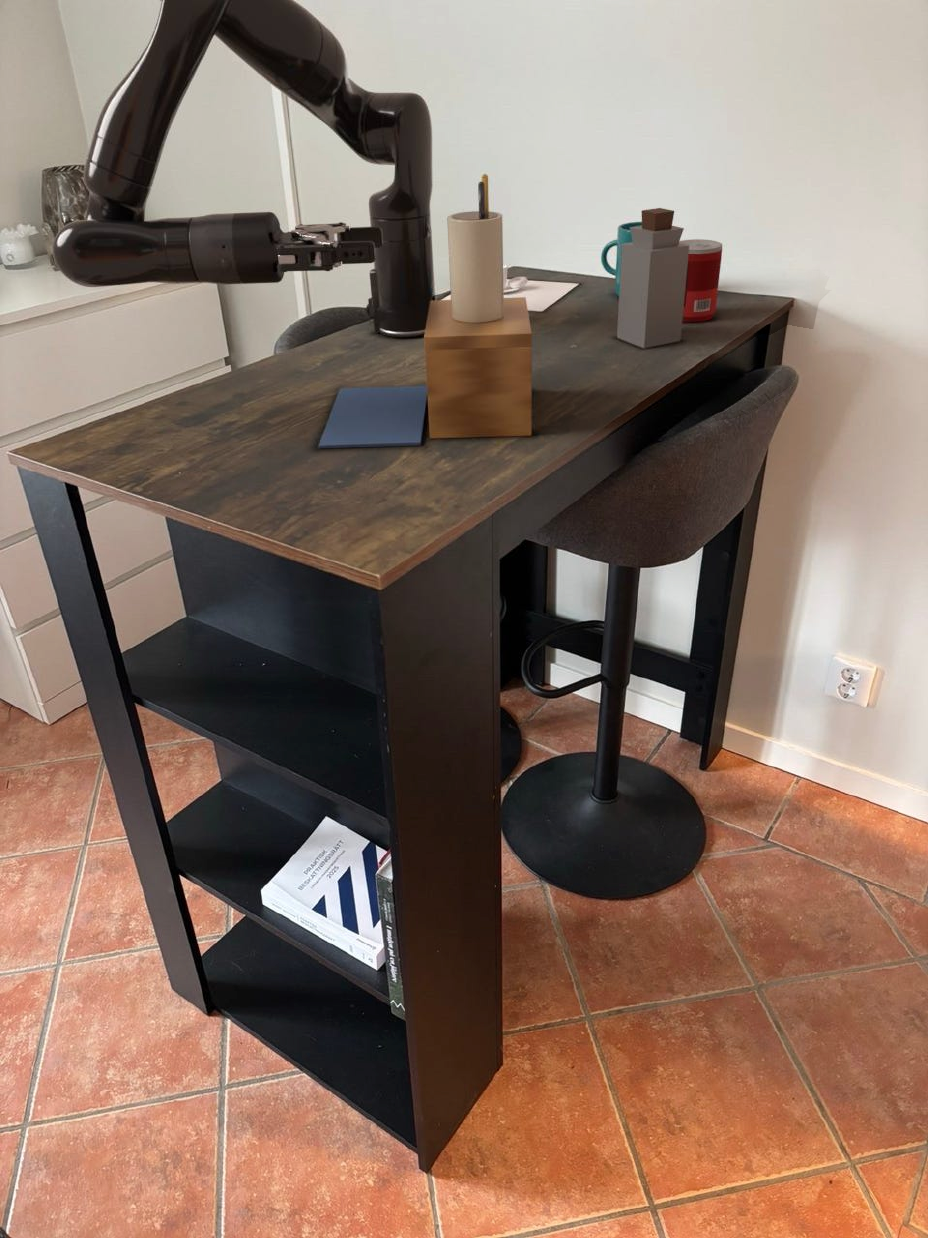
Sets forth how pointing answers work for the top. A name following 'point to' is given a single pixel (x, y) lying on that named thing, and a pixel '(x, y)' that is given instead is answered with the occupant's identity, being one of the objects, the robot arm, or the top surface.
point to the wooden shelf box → (479, 373)
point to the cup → (618, 251)
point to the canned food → (701, 279)
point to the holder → (476, 262)
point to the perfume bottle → (652, 281)
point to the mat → (376, 417)
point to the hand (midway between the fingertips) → (378, 243)
